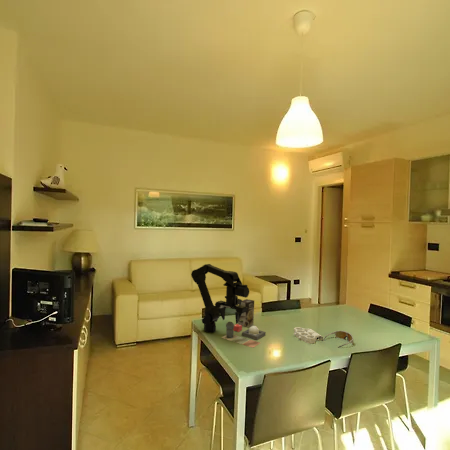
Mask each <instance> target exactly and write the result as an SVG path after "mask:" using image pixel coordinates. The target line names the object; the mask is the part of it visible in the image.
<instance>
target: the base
mask: <svg viewBox="0 0 450 450" xmlns="http://www.w3.org/2000/svg"><path fill="white" fill-rule="evenodd" d="M265 336H266V331H263V330H260V329H259V334H257V335H253V334H250V333H249V328H248V329H246V330H244V331H242V332H241V337H243V338H246V339H250V340H253V341H258V340H260V339H261V338H263V337H265Z"/></svg>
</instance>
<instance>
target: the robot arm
mask: <svg viewBox="0 0 450 450" xmlns="http://www.w3.org/2000/svg"><path fill="white" fill-rule="evenodd" d="M208 273H210V274H212V275H214V276H217V277H218V278H219V277H220V278H221V279H222V280H223V281H224V284H223V286H225V287H226V291H225V296H224V298H225V300H218V301H215V303H213V300H212V298H211V297H212V296H211V293H210V291H209V288H208V286H207V283H206V279H207V276H206V275H207V274H208ZM190 274H191V278H192V280H193V282H194V283H195V284H196V285H197V286H198V290H199V293H200V295H201V298H202V301H203V305H204V317H203V318H202V319H201V323H202V324H203V331H204V332H206V333H208V334H209V333H211V334H214V333H216V332H217V326H216V322H218V320H219V318H220V316H221V319H222V320H223V321H224V320H225V317H226V309H232V310H235V315H234V316H235V324H238V321H239V319H240V316H241V315H242V313H245V312H246V311H247V307H246V306H242V305H241V302H242V300H243V299H241V298H238V297H242V298H246V299H247V298H248V297H249V294H250V289H249V286H248V284H243V282H242V280H241V279H240V277H239V274H238V272H236V271H231V270H224V269H221V268H219V267H217V266H214V265H212V264H211V263H207V264H206V263H205V264H203V265H202V266H200V267H198V268H196V269H193V270H191V273H190ZM239 305H240V306H239Z"/></svg>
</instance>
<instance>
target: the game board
mask: <svg viewBox="0 0 450 450" xmlns="http://www.w3.org/2000/svg"><path fill="white" fill-rule="evenodd" d="M220 338H221V339H224V340H228V341H231V342H233V343H237V344H240V345H243V346H246V347H249V348H255V347H257V346H258V345H260V344H261V341H260V342H259V341H257V340H254V339H250V338H247V337H244V336H238V335H236V334H233V338H227V337H226V334H225V335H223V336H221V337H220Z"/></svg>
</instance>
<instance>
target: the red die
mask: <svg viewBox="0 0 450 450" xmlns="http://www.w3.org/2000/svg"><path fill="white" fill-rule="evenodd" d="M242 330H243V326H242V325H239V324H238V323H237V324H236V323H235V324H234V329H233V332H238V333H240V332H241V331H242Z"/></svg>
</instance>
